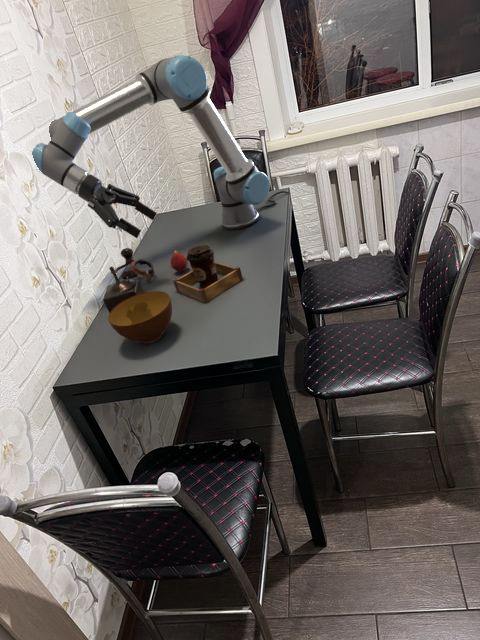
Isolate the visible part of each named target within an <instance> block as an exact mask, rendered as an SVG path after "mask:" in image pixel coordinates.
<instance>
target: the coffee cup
mask: <svg viewBox="0 0 480 640" xmlns="http://www.w3.org/2000/svg"><path fill="white" fill-rule="evenodd" d="M186 255H187V256H186V259H187V262H188V261H189V265H190V267H191V271H192V270H193V272H194V274H195V277H196V279H197V282H198V284H199V288H200V289H205V288H206V287H208V286H210V285H211V284H213V283H215V282H216V281H218V280H219V276H218V273H217V271H216V265H215V262H216V261H215V256H214V255H215V251H214V250H213V248H211V246H210V245H208V244H204V245H203V244H201V245H196V246H192V247H191V248H190V249H188V250H187V254H186ZM214 261H215V262H214Z"/></svg>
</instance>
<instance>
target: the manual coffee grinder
mask: <svg viewBox="0 0 480 640" xmlns="http://www.w3.org/2000/svg"><path fill="white" fill-rule="evenodd" d="M120 256H121V257H122V258H123V259H124V260H125V262H124V264H122V265H120V266H117V267H116V268H114V266H109V268H108V270H109V271H110V274H111V275H112V276H113V278H114V280H115V282H113V283H110V284H108V285H107V286H106V290H105V292H104V295H103V297H102V301H103V304H104V305H105V307H106V310H107V311H108V314H110V312H111V311H112V309H113V308H114V307H115V306H117V305H118V304H119V303H121V302H122V301H124V300H126V299H128V298H130V297H132V296H135V295H137V294H141V293H145V292H146V291H145V290H144V288H143V285H142V283H141V281H140V278H139V276H138V277H135V278H131V279H128V280H123V279H122V278H121V279H119V278H118V276H117V273H118V272H119V271H120V270H121V269H124V268H126V267H127V266H131V265H132V264H133V262H134V261H135V260H134V258H133V256H134V250H133V249H132V248H130V247H125V248H123V249H121V250H120Z"/></svg>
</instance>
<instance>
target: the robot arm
mask: <svg viewBox="0 0 480 640" xmlns="http://www.w3.org/2000/svg"><path fill="white" fill-rule="evenodd" d="M207 81H208V76H207V72H206V70H205V67H204V66H203V65H202V63H201V62H200V61H199V60H198V59H197V58H195V57H193V56H190V55H184V54H179V55H175V56H171V57H167V58H163V59H160V60H158V61H157V62H155V63H154V64H153V65H151V66H149V67H148V68H146V69H145V70H143V71H141V72H139V73H137V74H136V75H135V79H133V80H131V81H130V82H128V83H125V84H124V85H122V86H120V87H118V88H116V89H114V90H112V91H110V92H108V93H106V94H104V95H102V96H101V97H98V98H96V99H94V100H92V101H90V102H88V103H87V104H85V105H82V106H81V107H79V108H77V109H75V110H73V111H68V112H66V114H65V115H63V116H61V117H59V118H57V119H53V120H54V121H52V120H51V121H52V122H51V124H50V126H49V133H50V137H51V141H49V142H48V143H47V144H46V143H44V142H39V143H37V144H36V145H35V147H34V148H33V149H32V150H33V151H31V152H32V155H33V158H34V161H35V163H36V165H37V167H38V168H39V170H40V171H41V172H42V173H41V172H40V171H39V172H40V173H41V174H42V175H43V176H45V177H47V178H48V179H51V180H52V181H54V182H55V183H57V184H58V185H60V186H61V187H63V188H65V189H66V190H68V191H69V192H71V193H73V194H74V195H77V196H78V197H79V198H80V199H82V200H84V201H85V202H87V207H88V208H89V209H91V210H93V212H94V213H95V214H96V215H97V216H98V217H99V218H100V219H101V221H103V222H104V224H105V225H106V226H107V227H108V228H112V229H116V228H118V229H120V230H122V231H124V232H126V233H127V234H129V235H131V236H132V237H134V238H135V239H138V238H139V235H140V234H141V232H142V230H141V229H139V227H137V226H135V225H134V224H131V223H130V222H129V221H127V220H126V219H124V218H123V217H120V218H119V216H118V214H117V213H116V212H115V210H114V208H113V207H112V205H113V204H114V205H115V204H120V205H125V206H129V207H134V210H136V211H137V212H139V213H140V214H142V215H144V216H145V217H146V218H148V219H149V220H151V221H154V220H155V218H156V216H157V214H158V212H157V211H155V210H153V209H152V208H150V207H149V206H147V205H145V204H144V203H142V202H141V201H140V199H141V197H140V195H138V194H135V193H132V192H130V191H127V190H125V189H123V188H119V187H116V186H115V185H113V184H112V183H108V184H107V187H105V186H103V182H102V180H100V178H97V177H96V176H95V175H93V174H90V172H89V171H87V170H86V169H84V168H83V167H81V166H79V165H78V164H76V163H74V159H75V158H76V157H77V155H78V153H79V151H80V150H81V148H82V147H83V145H84V143H85V142H86V140H87V139H88V137H89V135H90V134H92V133H94V132H96V131H98V130H100V129H102V128H104V127H106V126H108V125H110V124H112V123H113V122H115V121H117V120H120V119H121V118H123V117H125V116H127V115H129V114H130V113H132V112H134V111H137V110H138V109H140V108H142V107H145V106H146V105H149V106H153V105H156V104H157V103H160V102H163V101H169V100H172V101H173V102H174V104H175V105H176V106H177V108H178V109H179V111H180V112H181V113H183V114H187V115H188V116H189V117H190V119H191V121H192V122H193V124H194V125H195V127H196V128H197V130H198V131H199V133H200V134H201V136H202V137H203V140H204V141H205V142H206V144H207V145H208V147H209V148H210V149H211V151H212V153H213V154H214V156H215V157H216V159H217V161H218V162H219V163H220V166H219V167H217V168H216V169H214V170H213V178H214V182H215V186H216V190H217V192H218V196H219V199H220V203H221V208H222V213H221V216H222V219H221V224H222V227H223V228H224V229H226V230H233V231H234V230H239V229H244V228H247V227H250V226H252V225H254V224H256V222H258V221H259V219H260V215H259V212H258V211H260V210H262V209H265V208H269V207H272V206H273V207H274V206H275V205H276V204H277V201H276V200H274V199H272V198H274V197H275V196H277V195H280V194H290V192H289V191H287V190H281V191H277V192H276V193H273V194H272V195H271V196H269V193H270V188H271V182H270V179H269V176H267V174H266V173H264V172H263V171H259V169H258V167H257V166H256V165H255V163H254V161H253V160H252V159H250V158H246V156H245V154H244V153H243V151H242V150H241V148H240V146H239V145H238V142H237V141H236V139H235V138H234V136H233V135H232V132H230V130H229V128H228V126H227V125H226V123H225V121H224V120H223V118H222V116H221V115H220V113H219V112H218V110H217V108H216V106H215V105H214V103H213V102H212V100H211V98H210V95H211V89H210V87H209V86H208V83H207ZM268 196H269V197H268ZM266 199H267V201H268V202H271V203H270V204H266V205H262V206H260V207H257V208H256V207H255V206H256V205H260V204H262V203H263V202H265V200H266Z"/></svg>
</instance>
